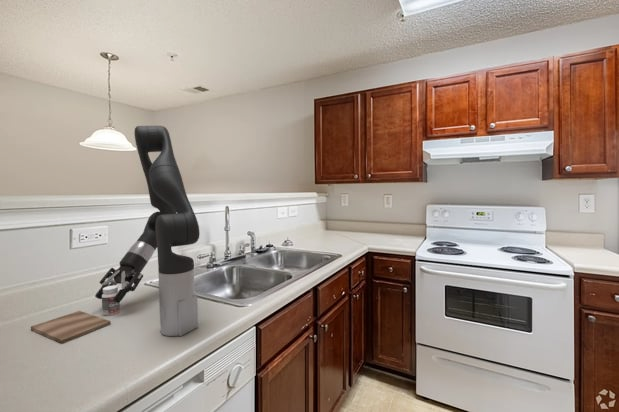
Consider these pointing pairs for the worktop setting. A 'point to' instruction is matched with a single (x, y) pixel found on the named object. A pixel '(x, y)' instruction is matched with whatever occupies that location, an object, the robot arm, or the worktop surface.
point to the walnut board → (70, 326)
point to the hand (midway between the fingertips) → (106, 299)
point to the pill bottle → (110, 301)
